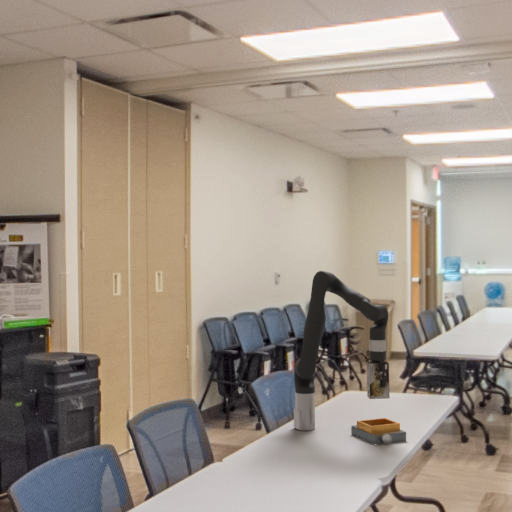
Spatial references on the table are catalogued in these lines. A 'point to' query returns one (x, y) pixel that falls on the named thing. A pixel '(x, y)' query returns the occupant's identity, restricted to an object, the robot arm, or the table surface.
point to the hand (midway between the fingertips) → (377, 385)
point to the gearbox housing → (379, 431)
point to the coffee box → (376, 382)
